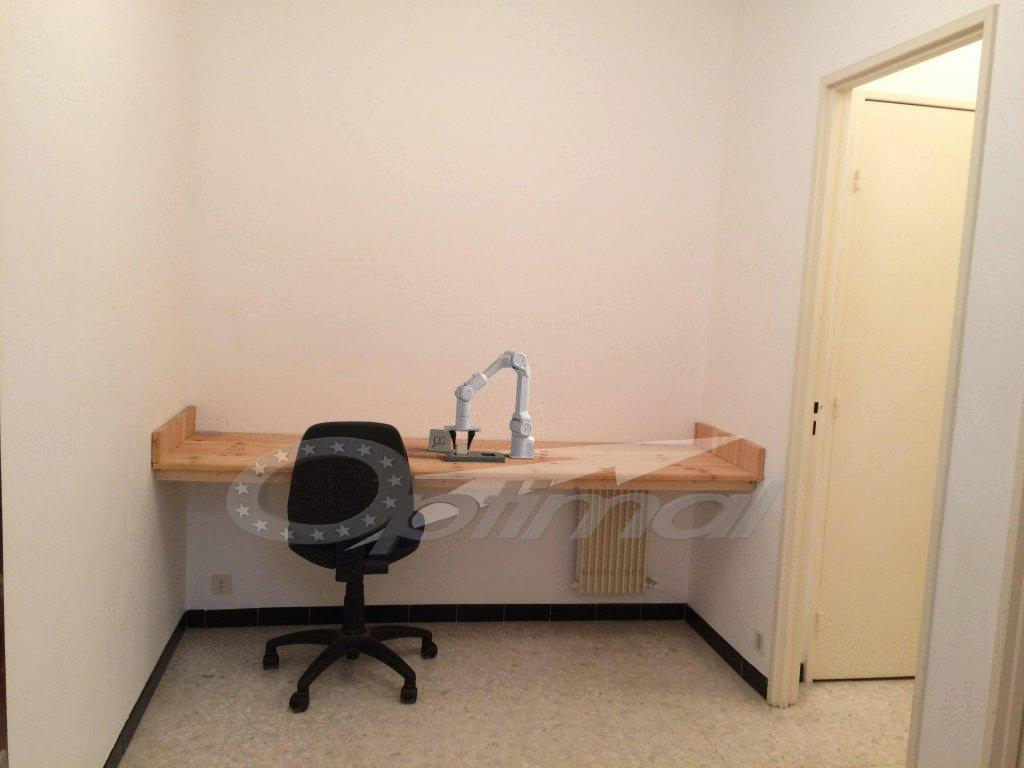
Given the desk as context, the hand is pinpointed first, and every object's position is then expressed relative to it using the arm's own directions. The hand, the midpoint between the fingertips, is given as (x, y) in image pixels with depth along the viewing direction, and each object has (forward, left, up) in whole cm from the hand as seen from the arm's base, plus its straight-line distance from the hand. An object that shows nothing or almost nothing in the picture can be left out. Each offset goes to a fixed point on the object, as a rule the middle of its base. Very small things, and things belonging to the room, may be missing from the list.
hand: (461, 449), depth 314 cm
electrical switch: (+7, -16, -4) cm, 18 cm away
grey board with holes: (-5, 0, -4) cm, 7 cm away
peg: (0, 0, -4) cm, 4 cm away
